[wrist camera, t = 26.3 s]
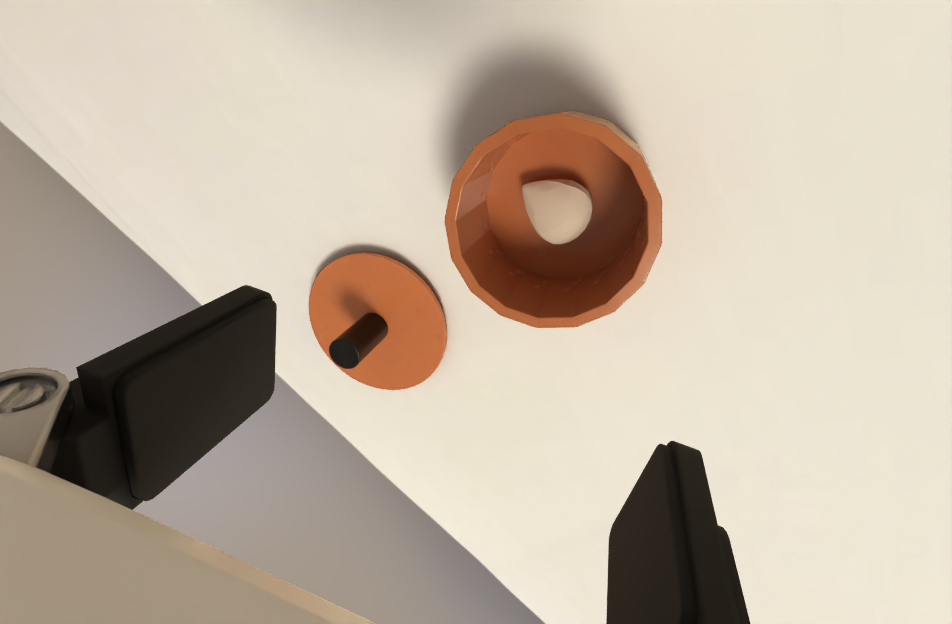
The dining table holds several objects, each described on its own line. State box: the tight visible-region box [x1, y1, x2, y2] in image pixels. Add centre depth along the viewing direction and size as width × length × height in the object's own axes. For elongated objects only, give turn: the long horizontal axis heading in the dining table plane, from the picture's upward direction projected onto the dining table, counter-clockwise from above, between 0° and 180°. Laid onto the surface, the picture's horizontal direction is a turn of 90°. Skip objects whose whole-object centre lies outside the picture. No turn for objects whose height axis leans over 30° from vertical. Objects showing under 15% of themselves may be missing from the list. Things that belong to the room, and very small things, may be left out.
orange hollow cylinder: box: [445, 111, 662, 328], centre depth 29 cm, size 12×12×8 cm
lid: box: [309, 253, 447, 390], centre depth 38 cm, size 13×13×6 cm
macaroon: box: [522, 179, 593, 244], centre depth 30 cm, size 4×5×2 cm
